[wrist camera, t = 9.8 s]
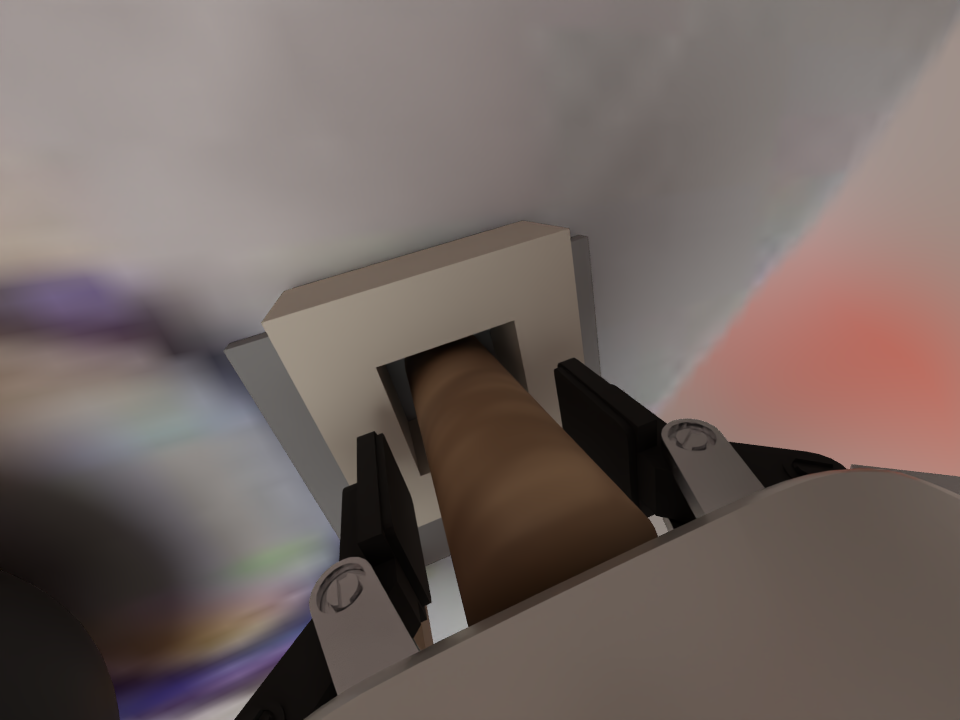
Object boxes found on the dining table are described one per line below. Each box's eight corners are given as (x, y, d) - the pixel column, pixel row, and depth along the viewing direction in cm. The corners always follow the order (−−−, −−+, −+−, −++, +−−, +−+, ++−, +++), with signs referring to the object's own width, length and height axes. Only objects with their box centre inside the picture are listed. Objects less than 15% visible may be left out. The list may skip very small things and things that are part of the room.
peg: (470, 312, 17) (652, 466, 6) (489, 381, 18) (665, 609, 7) (393, 337, 16) (438, 558, 5) (418, 407, 18) (495, 694, 7)
